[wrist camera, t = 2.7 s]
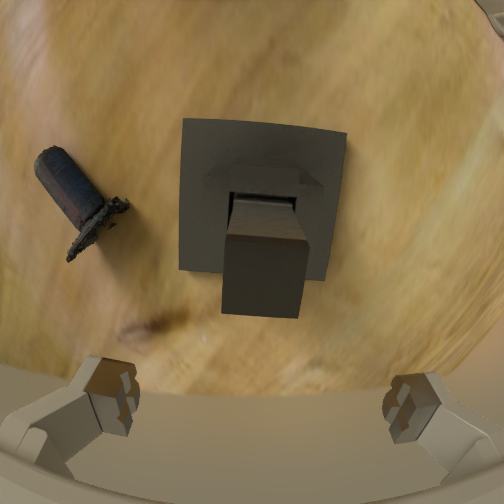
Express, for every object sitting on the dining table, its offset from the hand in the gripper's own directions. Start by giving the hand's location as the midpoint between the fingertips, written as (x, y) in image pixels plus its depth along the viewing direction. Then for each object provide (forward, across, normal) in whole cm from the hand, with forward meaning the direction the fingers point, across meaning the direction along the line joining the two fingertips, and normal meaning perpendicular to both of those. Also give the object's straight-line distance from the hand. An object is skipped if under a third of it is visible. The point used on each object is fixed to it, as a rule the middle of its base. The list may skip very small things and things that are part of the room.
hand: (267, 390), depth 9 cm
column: (+24, 0, 0) cm, 24 cm away
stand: (+26, 0, 0) cm, 27 cm away
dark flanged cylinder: (+27, +20, 0) cm, 34 cm away
